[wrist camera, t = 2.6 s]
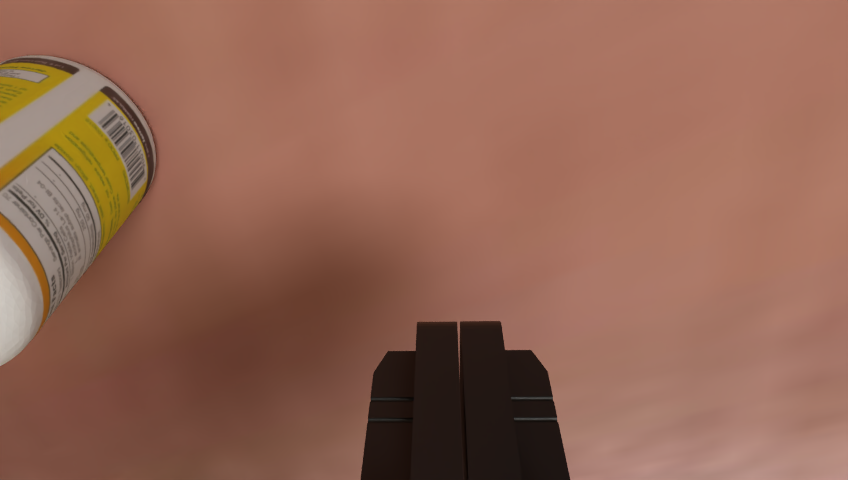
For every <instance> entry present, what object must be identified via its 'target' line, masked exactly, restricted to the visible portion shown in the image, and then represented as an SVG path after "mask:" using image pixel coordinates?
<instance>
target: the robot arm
mask: <svg viewBox="0 0 848 480" xmlns="http://www.w3.org/2000/svg"><path fill="white" fill-rule="evenodd" d="M361 480H570V476H569V472H568V467H567V462H566V457H565V453H564V448H563V443H562V438H561V434H560V429H559V424H558V422H557V414H556V410H555V405H554V401H553V395H552V391H551V386H550V381H549V376H548V372H547V370H546V369H545V368H544V366H543V365H542V364H541V362H540V361H539V360H538V358H537V357H536V356H535V355H534V353H533V352H532V351H531V350H505V348H504V340H503V333H502V326H501V322H500V321H463V322H460V381H459V357H458V333H457V322H417V334H416V351H388V352H387V353H386V355H385V356H384V358H383V359H382V361H381V362H380V364H379V365H378V367H377V368H376V370H375V371H374V374H373V382H372V390H371V402H370V407H369V415H368V423H367V431H366V440H365V448H364V456H363V465H362V473H361Z"/></svg>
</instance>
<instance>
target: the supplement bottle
mask: <svg viewBox="0 0 848 480" xmlns="http://www.w3.org/2000/svg"><path fill="white" fill-rule="evenodd" d="M155 167H156V151H155V145H154V141H153V137H152V134H151V131H150V129H149V127H148V124H147V122H146V121H145V119H144V117H143V115H142V114H141V112H140V111H139V109H138V108H137V107H136V105H135V104H134V103H133V101H132V100H131V99H130V98H129V97H128V96H127V95H126V94H125V93H124V92H123V91H122V90H121V89H120V88H119V87H118V86H116V85H115V84H114V83H113V82H111V81H110V80H109V79H107V78H106V77H104V76H103V75H101V74H100V73H98V72H96V71H94V70H92V69H90V68H88V67H86V66H84V65H82V64H79V63H76V62H74V61H70V60H67V59H63V58H58V57H53V56H44V55H29V56H21V57H16V58H12V59H9V60H6V61H4V62H2V63H0V366H1V365H3V364H5V363H7V362H8V361H10V360H11V359H13V358H14V357H15V356H17V355H18V354H19V353H20V352H21V351H22V350H23V349H24V348H25V347H26V346H27V344H28V343H29V342H30V341H31V340H32V339H33V338H34V337H35V336H36V334H37V333H38V332H39V330H40V329H41V328H42V327H43V325H44V324H45V322H46V321H47V320H48V318H49V317H50V316H51V315H52V313H53V312H54V311H55V310H56V308H57V307H58V306H59V304H60V303H61V302H62V300H63V299H64V298H65V297H66V295H67V294H68V293H69V291H70V290H71V289H72V288H73V286H74V285H75V284H76V283H77V281H78V280H79V279H80V278H81V276H82V275H83V274H84V273H85V271H86V270H87V269H88V267H89V266H90V265H91V264H92V263H93V261H94V260H95V259H96V257H97V256H98V255H99V254H100V252H101V251H102V250H103V248H104V247H105V246H106V245H107V243H108V242H109V241H110V239H111V238H112V237H113V236H114V234H115V233H116V232H117V231H118V229H119V228H120V227H121V225H122V224H123V223H124V222H125V220H126V219H127V218H128V216H129V215H130V214H131V213H132V211H133V210H134V209H135V208H136V206H137V205H138V204H139V203H140V202H141V200H142V199H143V197H144V196H145V194H146V193H147V191H148V189H149V187H150V185H151V183H152V180H153V177H154V173H155Z"/></svg>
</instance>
